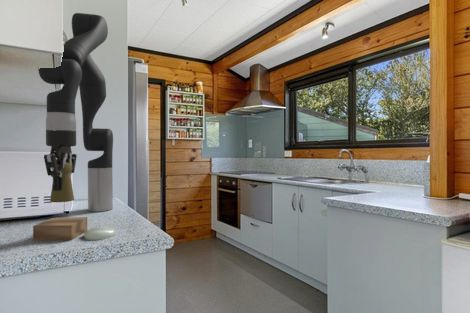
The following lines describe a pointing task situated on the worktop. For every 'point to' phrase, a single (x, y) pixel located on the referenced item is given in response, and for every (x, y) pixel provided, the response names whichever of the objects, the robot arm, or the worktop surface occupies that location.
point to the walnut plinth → (59, 229)
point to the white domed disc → (99, 233)
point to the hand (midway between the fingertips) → (61, 189)
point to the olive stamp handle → (64, 186)
